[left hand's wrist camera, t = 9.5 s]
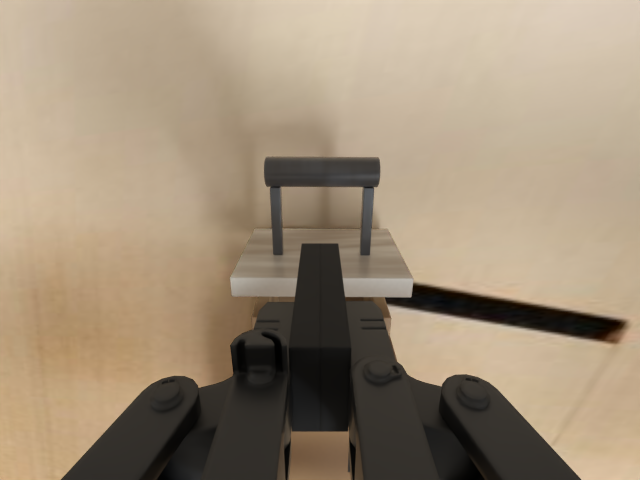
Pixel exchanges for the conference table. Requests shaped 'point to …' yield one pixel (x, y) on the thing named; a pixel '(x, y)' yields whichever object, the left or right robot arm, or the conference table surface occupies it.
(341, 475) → the cabinet
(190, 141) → the conference table surface
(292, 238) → the drawer
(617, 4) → the conference table surface
